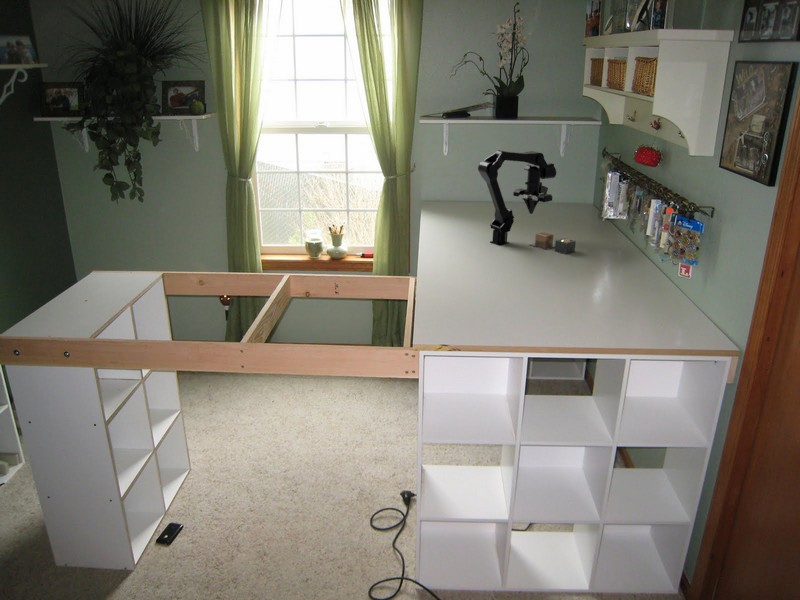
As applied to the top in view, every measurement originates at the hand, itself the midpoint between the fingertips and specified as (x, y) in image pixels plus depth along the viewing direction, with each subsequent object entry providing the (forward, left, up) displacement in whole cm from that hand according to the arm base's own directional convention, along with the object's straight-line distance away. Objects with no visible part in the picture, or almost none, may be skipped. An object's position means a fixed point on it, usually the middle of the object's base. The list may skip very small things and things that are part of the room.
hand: (531, 213), depth 299 cm
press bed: (-4, -12, -12) cm, 17 cm away
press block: (-4, -23, -12) cm, 27 cm away
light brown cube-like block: (-4, -12, -12) cm, 17 cm away
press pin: (-4, -24, -12) cm, 27 cm away
